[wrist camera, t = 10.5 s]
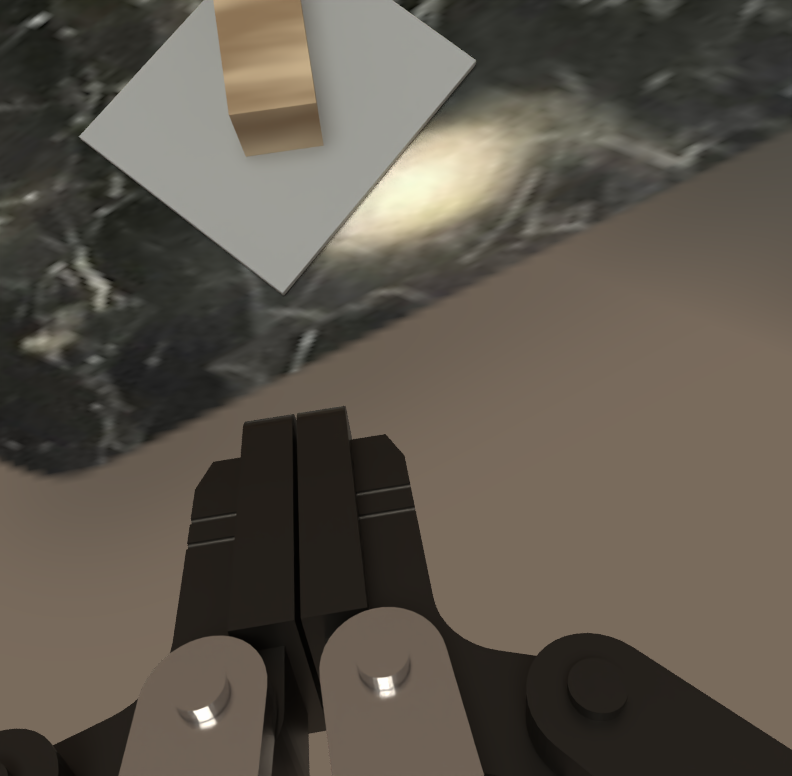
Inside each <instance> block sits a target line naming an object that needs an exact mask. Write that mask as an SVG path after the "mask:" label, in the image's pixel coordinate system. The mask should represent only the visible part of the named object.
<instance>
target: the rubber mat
mask: <svg viewBox="0 0 792 776" xmlns="http://www.w3.org/2000/svg"><path fill="white" fill-rule="evenodd" d="M301 4H302V10H303V16H304V23H305V29H306V36H307V42H308V49H309V55H310V61H311V68H312V74H313V81H314V87H315V94H316V100H317V106H318V113H319V119H320V126H321V132H322V138H323V145H324V146H318V147H311V148H304V149H296V150H289V151H282V152H275V153H268V154H261V155H254V156H247V157H246V156H245V154H244V151H243V149H242V146H241V144H240V141H239V139H238V136H237V134H236V131H235V129H234V127H233V124H232V122H231V119H230V117H229V113H228V105H227V98H226V91H225V83H224V76H223V69H222V61H221V54H220V47H219V39H218V32H217V24H216V17H215V10H214V2H213V0H204V1H203V2H202V3H201V4H200V5H199V6H198V7H197V8H196V9H195V10H194V12H193V13H192V14H191V15H190V16H189V17H188V18H187V19H186V20H185V21H184V23H183V24H182V25H181V26H180V27H179V28H178V29H177V30H176V31H175V32H174V33H173V35H172V36H171V37H170V38H169V39H168V40H167V41H166V42H165V43H164V44H163V45H162V47H161V48H160V49H159V50H158V51H157V52H156V53H155V54H154V55H153V56H152V58H151V59H150V60H149V61H148V62H147V63H146V64H145V65H144V66H143V67H142V68H141V70H140V71H139V72H138V73H137V74H136V75H135V76H134V77H133V78H132V79H131V80H130V82H129V83H128V84H127V85H126V86H125V87H124V88H123V89H122V90H121V91H120V93H119V94H118V95H117V96H116V97H115V98H114V99H113V100H112V101H111V102H110V103H109V105H108V106H107V107H106V108H105V109H104V110H103V111H102V112H101V113H100V114H99V116H98V117H97V118H96V119H95V120H94V121H93V122H92V123H91V124H90V125H89V126H88V128H87V129H86V130H85V131H84V132H83V133H82V134H81V135H80V136H79V137H80V138H81V139H82V141H84V142H85V143H86V144H87V145H89V146H90V147H91V148H93V149H94V150H95V151H96V152H98V153H99V154H100V155H102V156H103V157H104V158H106V159H107V160H108V161H109V162H111V163H112V164H113V165H115V166H116V167H117V168H119V169H120V170H121V171H122V172H124V173H125V174H126V175H128V176H129V177H130V178H132V179H133V180H134V181H135V182H137V183H138V184H139V185H141V186H142V187H143V188H145V189H146V190H147V191H148V192H150V193H151V194H152V195H154V196H155V197H156V198H158V199H159V200H160V201H161V202H163V203H164V204H165V205H167V206H168V207H169V208H170V209H172V210H173V211H174V212H176V213H177V214H178V215H180V216H181V217H182V218H183V219H185V220H186V221H187V222H189V223H190V224H191V225H193V226H194V227H195V228H196V229H198V230H199V231H200V232H202V233H203V234H204V235H206V236H207V237H208V238H209V239H211V240H212V241H213V242H215V243H216V244H217V245H219V246H220V247H221V248H222V249H224V250H225V251H226V252H228V253H229V254H230V255H231V256H233V257H234V258H235V259H237V260H238V261H239V262H241V263H242V264H243V265H244V266H246V267H247V268H248V269H250V270H251V271H252V272H254V273H255V274H256V275H257V276H259V277H260V278H261V279H263V280H264V281H265V282H267V283H268V284H269V285H270V286H272V287H273V288H274V289H276V290H277V291H278V292H280V293H281V294H282V295H283V296H284V295H285V294H286V293H287V291H288V290H289V289H290V288H291V287H292V285H293V284H294V283H295V282H296V281H297V279H298V278H299V277H300V276H301V275H302V273H303V272H304V271H305V270H306V269H307V267H308V266H309V265H310V264H311V262H312V261H313V260H314V259H315V258H316V256H317V255H318V254H319V253H320V252H321V250H322V249H323V248H324V247H325V246H326V244H327V243H328V242H329V241H330V240H331V238H332V237H333V236H334V235H335V234H336V232H337V231H338V230H339V229H340V228H341V226H342V225H343V224H344V223H345V222H346V220H347V219H348V218H349V217H350V216H351V214H352V213H353V212H354V211H355V210H356V208H357V207H358V206H359V205H360V204H361V202H362V201H363V200H364V199H365V197H366V196H367V195H368V194H369V193H370V191H371V190H372V189H373V188H374V187H375V185H376V184H377V183H378V182H379V181H380V179H381V178H382V177H383V176H384V175H385V173H386V172H387V171H388V170H389V169H390V167H391V166H392V165H393V164H394V163H395V161H396V160H397V159H398V158H399V157H400V155H401V154H402V153H403V152H404V151H405V149H406V148H407V147H408V146H409V145H410V143H411V142H412V141H413V140H414V139H415V137H416V136H417V135H418V134H419V133H420V131H421V130H422V129H423V128H424V126H425V125H426V124H427V123H428V122H429V120H430V119H431V118H432V117H433V116H434V114H435V113H436V112H437V111H438V110H439V108H440V107H441V106H442V105H443V104H444V102H445V101H446V100H447V99H448V98H449V96H450V95H451V94H452V93H453V92H454V90H455V89H456V88H457V87H458V86H459V84H460V83H461V82H462V81H463V80H464V78H465V77H466V76H467V75H468V74H469V72H470V71H471V70H472V69H473V68H474V66H475V64H476V60H475V59H473V58H472V57H470V56H469V55H468V54H466V53H465V52H464V51H462V50H461V49H459V48H458V47H457V46H455V45H454V44H452V43H451V42H450V41H448V40H447V39H445V38H444V37H443V36H441V35H440V34H438V33H437V32H436V31H434V30H433V29H431V28H430V27H429V26H427V25H426V24H425V23H423V22H422V21H420V20H419V19H418V18H416V17H415V16H413V15H412V14H411V13H409V12H408V11H406V10H405V9H404V8H402V7H401V6H399V5H398V4H397V3H395V2H394V1H393V0H301Z"/></svg>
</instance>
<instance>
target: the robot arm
mask: <svg viewBox="0 0 792 776" xmlns="http://www.w3.org/2000/svg"><path fill="white" fill-rule="evenodd" d="M191 521H192V524H191V525H190V528H189V535H188V542H187V544H188V549H187V550H186V555H185V562H184V570H183V576H182V583H181V590H180V597H179V604H178V610H177V617H176V624H175V630H174V637H173V644H172V648H171V652H170V654H169V655H168V656H167V657H165V658H164V659H163V660H162V661H161V662H160V663H159V664H158V665H157V666H156V667H155V668H154V670H153V671H152V673H151V674H150V676H149V677H148V678H147V680H146V682H145V683H144V686H143V687H142V689H141V692H140V695H139V698H138V699H137V700H136V701H135V702H134V703H133V704H131V705H130V706H128V707H127V708H125V709H124V710H123V711H121V712H119V713H118V714H116V715H114V716H112V717H110V718H108V719H106V720H104V721H102V722H101V723H98V724H96V725H94V726H92V727H90V728H88V729H86V730H84V731H82V732H80V733H78V734H76V735H74V736H71V737H69V738H67V739H65V740H63V741H61V742H59V743H57V744H55V745H52V744H51V743H50V742H49V741H48V740H47V739H46V738H45V737H44V736H43V735H41V734H39V733H37V732H35V731H31V730H27V729H9V730H3V731H0V776H309V742H308V741H309V740H308V734H309V733H315V732H320V731H327V738H328V747H329V755H330V762H331V771H332V776H792V750H791V749H789V748H788V747H786V746H785V745H783V744H782V743H780V742H779V741H777V740H776V739H774V738H772V737H771V736H769V735H768V734H766V733H765V732H763V731H762V730H760V729H759V728H757V727H755V726H754V725H752V724H751V723H749V722H748V721H746V720H745V719H743V718H742V717H740V716H738V715H737V714H735V713H734V712H732V711H731V710H729V709H728V708H726V707H725V706H723V705H721V704H720V703H718V702H717V701H715V700H713V699H712V698H711V697H709V696H708V695H706V694H704V693H703V692H701V691H700V690H698V689H697V688H695V687H694V686H692V685H691V684H689V683H687V682H686V681H684V680H683V679H681V678H680V677H678V676H677V675H675V674H674V673H672V672H670V671H669V670H667V669H666V668H664V667H663V666H661V665H660V664H658V663H656V662H655V661H653V660H652V659H650V658H649V657H647V656H646V655H644V654H643V653H641V652H639V651H638V650H636V649H635V648H633V647H632V646H630V645H628V644H626V643H624V642H622V641H620V640H618V639H615V638H612V637H609V636H605V635H601V634H592V633H581V634H573V635H568V636H564V637H562V638H560V639H557V640H555V641H553V642H552V643H550V644H549V645H547V646H546V647H545V648H544V649H543V650H542V651H541V652H539V654H538V655H537V656H533V655H527V654H519V653H512V652H505V651H498V650H493V649H489V648H484V647H482V646H479V645H476V644H474V643H472V642H470V641H468V640H466V639H464V638H463V637H461V636H460V635H458V634H457V633H456V632H454V631H453V630H452V629H451V628H450V627H449V626H448V625H447V624H446V622H445V621H444V620H443V618H442V617H441V616H440V614H439V612H438V610H437V608H436V605H435V602H434V598H433V594H432V589H431V584H430V579H429V575H428V570H427V564H426V560H425V555H424V550H423V545H422V540H421V535H420V530H419V525H418V520H417V516H416V511H415V506H414V500H413V496H412V491H411V487H410V481H409V476H408V471H407V466H406V461H405V456H404V455H403V453H402V452H401V451H400V450H399V449H398V448H397V447H396V446H395V444H394V443H393V442H392V441H391V440H390V439H389V438H388V437H387V436H386V434H384V435H378V436H371V437H365V438H359V439H353V440H352V437H351V431H350V426H349V421H348V415H347V410H346V406H342V407H335V408H329V409H322V410H316V411H310V412H304V413H298V414H297V420H296V418H295V415H294V414H292V415H286V416H279V417H273V418H266V419H260V420H254V421H247V422H245V423H244V425H243V434H242V447H241V458H235V459H229V460H223V461H216V462H213V463H212V465H211V466H210V468H209V469H208V471H207V472H206V474H205V475H204V477H203V479H202V480H201V482H200V483H199V484H198V486H197V487H196V489H195V494H194V501H193V508H192V514H191Z"/></svg>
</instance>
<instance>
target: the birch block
mask: <svg viewBox="0 0 792 776" xmlns="http://www.w3.org/2000/svg"><path fill="white" fill-rule="evenodd" d="M213 2H214V10H215V17H216V24H217V32H218V39H219V47H220V54H221V61H222V69H223V76H224V83H225V91H226V98H227V105H228V113H229V117H230V119H231V122H232V124H233V127H234V129H235V131H236V134H237V136H238V139H239V141H240V144H241V146H242V149H243V151H244V154H245V156H246V157H247V156H254V155H261V154H268V153H275V152H282V151H289V150H296V149H304V148H311V147H318V146H324V145H323V138H322V132H321V126H320V119H319V113H318V106H317V100H316V94H315V87H314V81H313V74H312V68H311V61H310V55H309V49H308V42H307V36H306V29H305V23H304V16H303V10H302V4H301V0H213Z"/></svg>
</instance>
